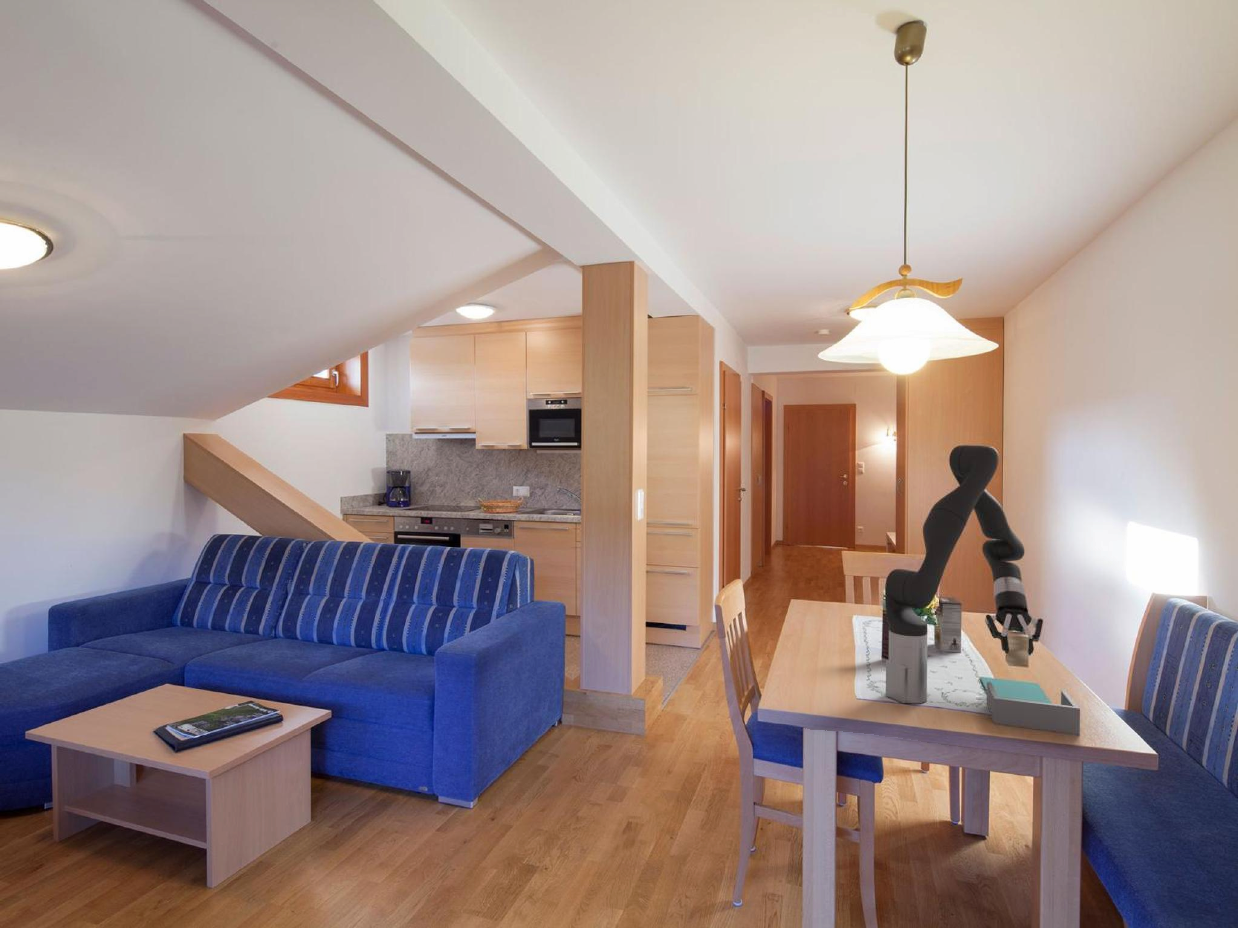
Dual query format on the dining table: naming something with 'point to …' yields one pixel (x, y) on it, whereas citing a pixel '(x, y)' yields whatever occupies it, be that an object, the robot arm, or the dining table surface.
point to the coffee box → (948, 625)
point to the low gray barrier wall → (1034, 713)
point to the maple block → (1017, 649)
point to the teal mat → (1017, 689)
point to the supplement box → (885, 637)
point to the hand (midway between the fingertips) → (1018, 652)
